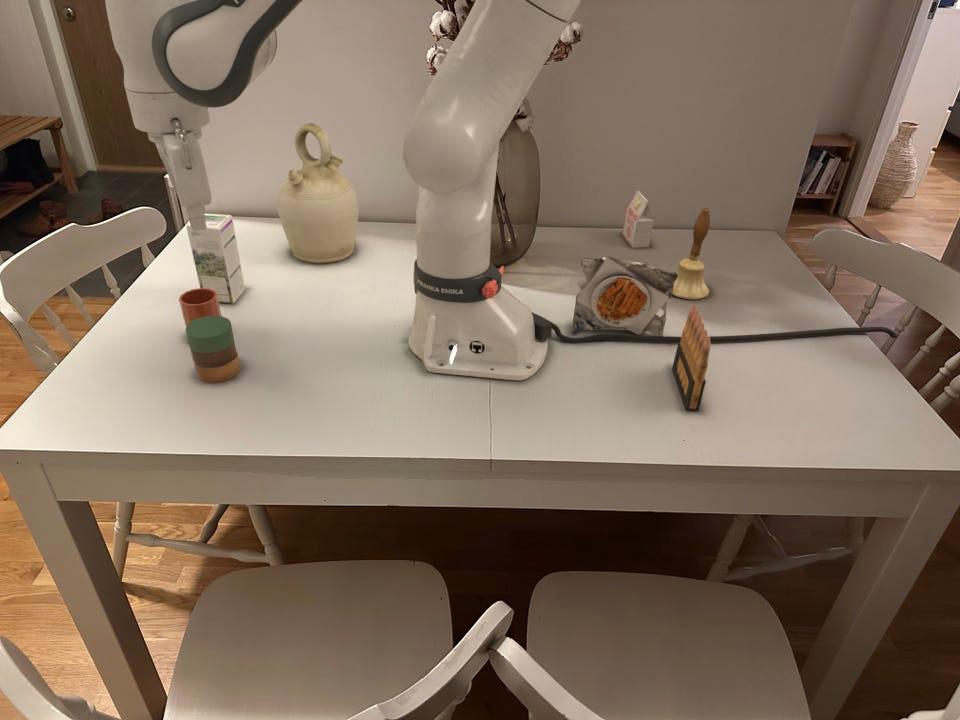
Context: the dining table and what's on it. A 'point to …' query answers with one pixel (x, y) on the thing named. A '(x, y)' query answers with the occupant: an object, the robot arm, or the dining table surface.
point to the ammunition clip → (692, 361)
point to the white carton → (638, 222)
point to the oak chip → (219, 371)
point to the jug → (318, 204)
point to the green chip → (209, 334)
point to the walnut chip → (214, 357)
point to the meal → (622, 296)
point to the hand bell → (693, 264)
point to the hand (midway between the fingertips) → (193, 215)
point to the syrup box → (217, 257)
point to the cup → (199, 304)
